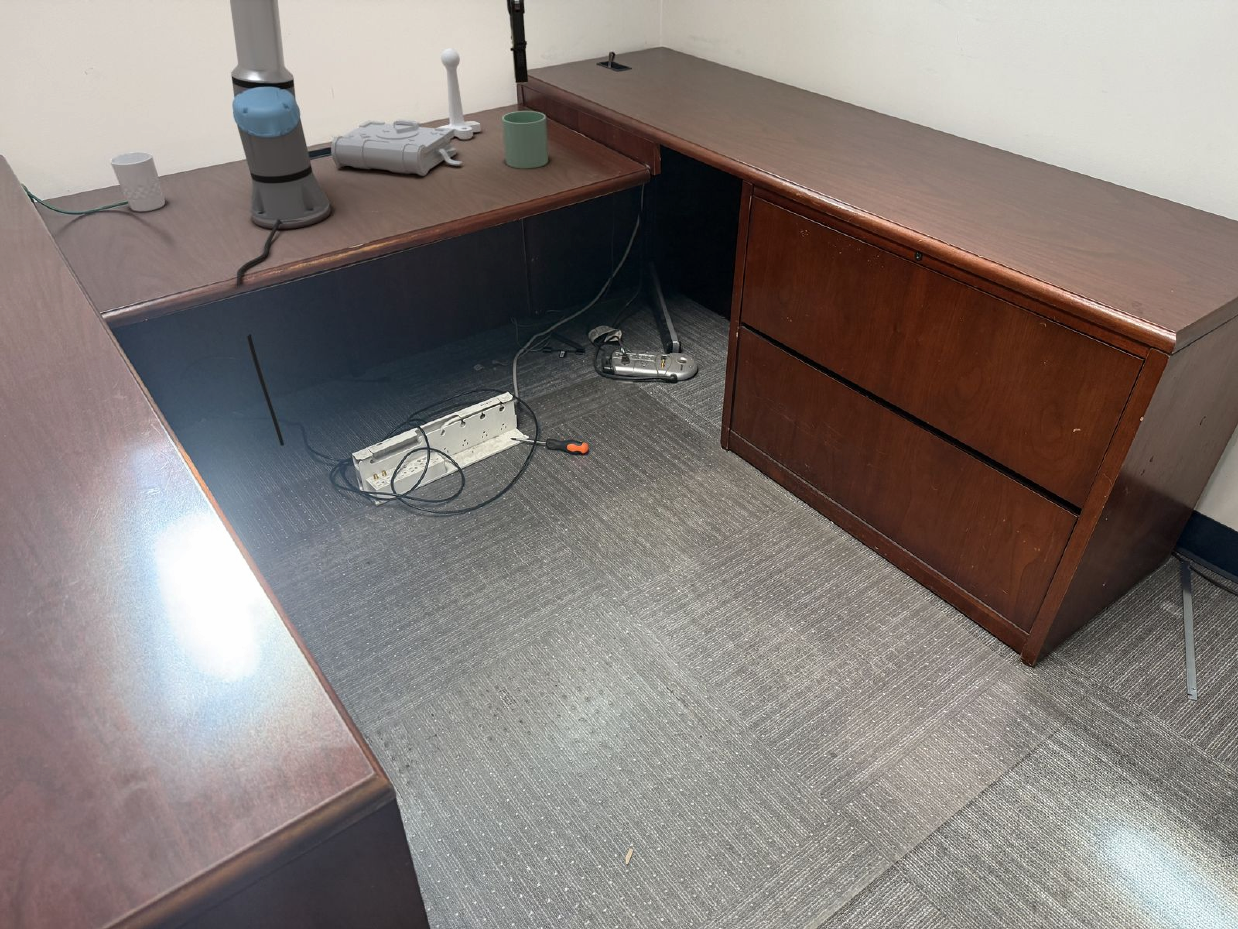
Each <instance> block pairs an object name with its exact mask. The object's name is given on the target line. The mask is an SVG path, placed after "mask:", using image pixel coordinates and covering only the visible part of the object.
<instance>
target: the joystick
mask: <svg viewBox="0 0 1238 929" xmlns="http://www.w3.org/2000/svg"><path fill="white" fill-rule="evenodd" d="M440 60H441V63H442V65H443V66H444V67H445V69H446V79H447V82H446V83H447V98H448V99H447V100H448V115H449V116H448V117H449V124H445V125H441V126H438V127H437V128H450V129H454V137H457V138H458V139H459V140H470V139H472V137H473V135H474V133H479V132H482V130H481V129H482V128H481V123H480V122H477V121H475V120H469V121H465V118H464V111H463V105H462V97H461V91H460V84H459V78H458V66H459V65H460V62H461V57H460V54H459V53H458V51H457V50H455V49H454V48H446V49H444V50H443V51H442V52H441V56H440Z"/></svg>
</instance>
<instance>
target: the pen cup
mask: <svg viewBox="0 0 1238 929" xmlns="http://www.w3.org/2000/svg"><path fill="white" fill-rule="evenodd" d="M501 125H502V136H503V148H504V157H505V165H507V166H509V167H510V168H516V169H534V168H539V167H542V166H545V165H546V164H547V163H548V162H549V145H548V128H547V127H548V126H547V115H546V114H544V113H543V112H539V111H534V110H519V111H512V112H508V113H506V114H503V116H502V117H501Z"/></svg>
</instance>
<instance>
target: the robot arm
mask: <svg viewBox="0 0 1238 929" xmlns="http://www.w3.org/2000/svg"><path fill="white" fill-rule="evenodd" d="M229 5H230V13H231V20H232V28H233V34H234V35H233V36H234V44H235V50H236V52H235V53H236V57H237V65H236V66H235V67H234V68H233V70H231V72H230V75H231V76H230V77H231V82H232V91H233V97H234V98H233V99H232V103H231V104H232V106H231V107H232V116H233V117H232V118H233V119H234V120H233V121H234V123H235V124H236V127H237V131H238V135H239V136H240V141H241V145H242V149H243V153H244V156H245V160H246V163H247V167H248V171H249V174H250V177H251V181H252V184H251V185H252V186H251V187H252V188H251V202H250V203H251V204H250V213H251V214H250V215H251V216H252V220H253V223H254V224H256V225H257V226H259V227H262V228H265V229H270V230H271V232H270V233H269V235H268V237H267V239H266V241H265V244H264V251H263V253H261V255H259V256H257V257H256V258H253V259H251V260H249V261H247V262H246V263H244V264H243V265H242V266H241V267H240V268H239V269H238V270H237V272H236V286H238V287H239V286H242V273H243V272H244V271H245V270H246V269H248V268H249V267H250V266H253V265H255V264H257V263H259V262H260V261H262V260H263V259H265V258H266V257H267V256H268V254H269V247H270V244H271V242H272V240H273V238H274V236H275V235H276V232H277V230H292V229H299V228H304V227H308V226H311V225H314V224H317V223H319V222H321V221H324V220H325V219H326V218H328V217H329V216H330V214H331V211H332V209H331V203H330V201H329V199H328V197H327V195H326V193H325V192H324V190H323V188H322V186H321V184H320V183H319V181H318V180H317V178H316V176H315V174H314V171H313V167H312V162H311V158H310V153H309V150H308V145H307V141H306V136H305V132H304V127H303V124H302V123H303V122H302V119H301V110H300V106H299V105H298V103H297V99H296V98H297V97H296V89H295V88H296V87H295V79H294V75H293V73H291V71H290V70H288V69H287V68H286V66H285V58H284V50H283V49H284V48H283V38H282V29H281V28H282V26H281V17H280V8H279V0H229ZM506 9H507V12H508V15H509V18H510V17H511V21H512V33H513V47H512V46H511V47H510V48H509V50H510V52H512V56H513V55H514V59H513V58H512V62H513V68H514V67H515V72H514V71H513V74H514V80H516V83H515V84H517V83H522V82H528V83H529V74H528V59H527V50H526V49H527V45H528V42H527V40H526V31H525V30H526V29H525V13H526V10H525V9H526V8H525V0H506ZM510 40H511V41H512V35H511V34H510ZM246 338H247V341H248V345H249V349H250V354H251V356H252V360H253V363H254V367H255V370H256V372H257V378H258V380H259V383H260V386H261V389H262V393H263V394H264V398H265V401H266V403H267V406H268V410H269V412H270V413H269V414H270V416H271V418H272V422H273V425H274V428H275V432H276V435H277V438H278V441H279V445H280V446H282V447H283V446H285V443H284V442H285V441H284V439H283V435H282V433H281V429H280V426H279V423H278V419H277V416H276V414H275V410H274V407H273V403H272V401H271V398H270V395H269V392H268V390H267V386H266V383H265V379H264V376H263V374H262V371H261V367H260V363H259V360H258V356H257V352H256V349H255V346H254V342H253V337H252V334H251V333H249V334H248V335H247V336H246Z"/></svg>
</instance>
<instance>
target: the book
mask: <svg viewBox="0 0 1238 929" xmlns="http://www.w3.org/2000/svg"><path fill="white" fill-rule="evenodd" d="M454 137H455V136H454V129H450V128H438V127H425V126H421V123H420V122H419V121H415V120H410V119H397V120H395V121H393V123H386V122H385V121H378V120H367V121H365V122H363V123H362V124H360V125H359V126H358V127H357V128H355V129H353V130H352V131H349V132H347V133H346V134H344V135H335V136H334V137H333V139H332V141H331V144H330V145H331V147H330V154H331V159H332V160H333V162H334V164H335V165H336V166H338V167H340V168H344V167H345V166H346V167H352V168H354V169H361V170H362V169H363V170H372V169H373V170H381V171H382V170H383V171H389V172H391V173H395V174H397V173H398V174H403V175H404V174H406V175H410V174H416V175H418V176H420V177H424V176H426V175H427V174H428V172H429V171H430V169H432V168H434V167H436V166H437V165H439V164H440V163H442V162H443V161H445V163H447V164H448V165H450V166H451V165H452V166H461V164H463V161H461V160H460V161H459V160H458V161H457V160H454V159H451V158H452V157H454V156H455V155H456V154H457V148H456V146H453V145H452V144H451V143H452V142H453V141H451V140H452V139H453V138H454Z"/></svg>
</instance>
